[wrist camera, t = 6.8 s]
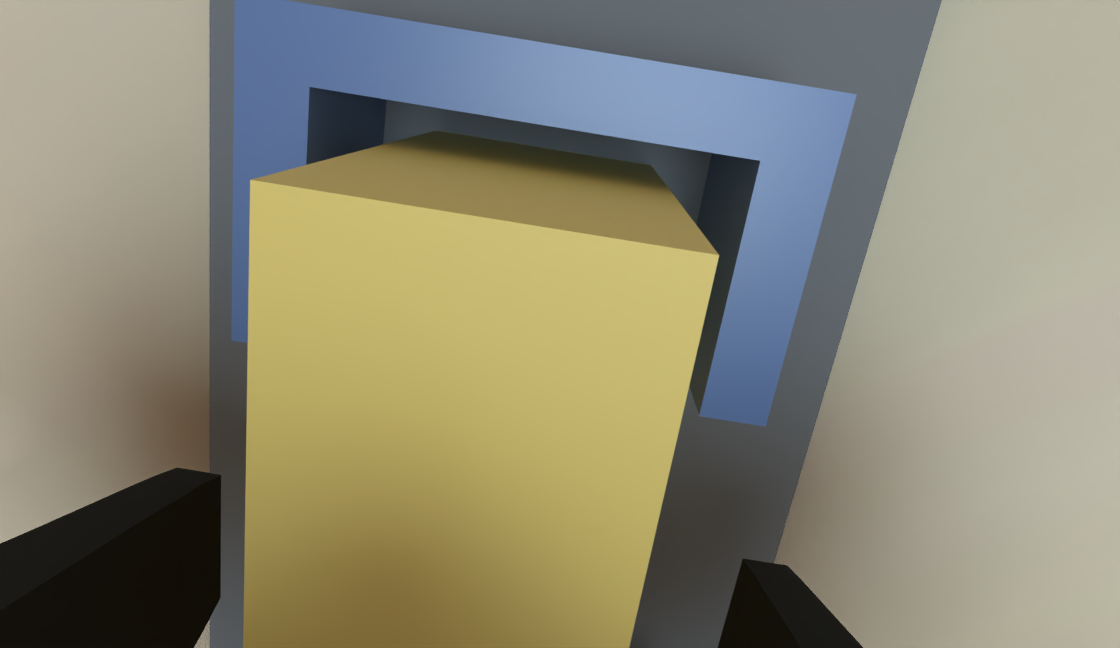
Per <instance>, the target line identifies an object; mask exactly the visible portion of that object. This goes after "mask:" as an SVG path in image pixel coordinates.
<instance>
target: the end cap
mask: <svg viewBox="0 0 1120 648" xmlns="http://www.w3.org/2000/svg"><path fill="white" fill-rule="evenodd" d="M856 96H857V94H852V93H846V92H840V91H834V90H827V89H821V88H815V87H809V86H803V85H797V84H791V83H785V82H779V81H773V80H767V79H761V78H755V77H749V76H743V75H736V74H730V73H724V72H718V71H712V70H706V69H700V68H694V67H688V66H682V65H676V64H670V63H664V62H658V61H652V60H645V59H639V58H633V57H627V56H621V55H615V54H609V53H603V52H597V51H591V50H585V49H579V48H573V47H567V46H561V45H554V44H548V43H542V42H536V41H530V40H524V39H518V38H512V37H506V36H500V35H494V34H488V33H482V32H476V31H470V30H463V29H457V28H451V27H445V26H439V25H433V24H427V23H421V22H415V21H409V20H403V19H397V18H391V17H385V16H379V15H372V14H366V13H360V12H354V11H348V10H342V9H336V8H330V7H324V6H318V5H312V4H306V3H300V2H294V1H288V0H235V23H234V125H233V228H232V331H231V340H232V341H238V342H244V343H248V294H249V228H250V180H252V179H255V178H259V177H263V176H267V175H270V174H274V173H278V172H282V171H285V170H289V169H293V168H297V167H300V166H304V165H308V164H312V163H316V162H319V161H323V160H327V159H331V158H334V157H338V156H342V155H346V154H349V153H353V152H357V151H361V150H364V149H368V148H372V147H376V146H380V145H383V142H384V129H385V116H386V102H387V100H393V101H399V102H405V103H411V104H417V105H423V106H429V107H435V108H441V109H447V110H454V111H460V112H466V113H472V114H478V115H484V116H490V117H496V118H502V119H508V120H515V121H521V122H527V123H533V124H539V125H545V126H551V127H557V128H563V129H569V130H575V131H582V132H588V133H594V134H600V135H606V136H612V137H618V138H624V139H630V140H636V141H643V142H649V143H655V144H661V145H667V146H673V147H679V148H685V149H691V150H697V151H703V152H710V153H712V155H711V160H710V164H709V169H708V174H707V178H706V183H705V187H704V192H703V196H702V201H701V206H700V210H699V215H698V219H697V224H696V225H697V226H698V228H699V229H700V230H701V232H702V233H703V234H704V236H705V237H706V238H707V240H708V241H709V242H710V244H711V245H712V246H713V248H714V249H715V250H716V252H717V253H718V254H719V259H718V263H717V267H716V272H715V276H714V280H713V285H712V289H711V294H710V298H709V302H708V307H707V311H706V315H705V320H704V324H703V328H702V333H701V337H700V341H699V346H698V350H697V354H696V359H695V363H694V368H693V372H692V376H691V381H690V385H689V386H690V389H691V392H692V396H693V399H694V402H695V405H696V408H697V411H698V414H699V416H702V417H708V418H714V419H721V420H727V421H733V422H739V423H745V424H752V425H758V426H764V427H766V424H767V420H768V416H769V413H770V409H771V405H772V402H773V398H774V394H775V391H776V387H777V383H778V380H779V376H780V373H781V369H782V365H783V362H784V358H785V354H786V351H787V347H788V343H789V340H790V336H791V332H792V329H793V325H794V322H795V318H796V314H797V311H798V307H799V303H800V300H801V296H802V292H803V289H804V285H805V282H806V278H807V274H808V271H809V267H810V263H811V260H812V256H813V252H814V249H815V245H816V241H817V238H818V234H819V231H820V227H821V223H822V220H823V216H824V212H825V209H826V205H827V201H828V198H829V194H830V190H831V187H832V183H833V180H834V176H835V172H836V169H837V165H838V161H839V158H840V154H841V150H842V147H843V143H844V139H845V136H846V132H847V129H848V125H849V121H850V118H851V114H852V110H853V107H854V103H855V99H856Z"/></svg>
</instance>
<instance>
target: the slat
mask: <svg viewBox="0 0 1120 648" xmlns="http://www.w3.org/2000/svg"><path fill="white" fill-rule="evenodd" d="M718 259H719V254H718V253H717V252H716V250H715V249H714V248H713V246H712V245H711V244H710V242H709V241H708V240H707V238H706V237H705V236H704V234H703V233H702V232H701V230H700V229H699V228H698V226H697V225H696V224H695V223H694V221H693V220H692V219H691V217H690V216H689V215H688V213H687V212H686V211H685V209H684V208H683V207H682V205H681V204H680V203H679V201H678V200H677V199H676V197H675V196H674V195H673V193H672V192H671V191H670V189H669V188H668V187H667V186H666V184H665V183H664V182H663V180H662V179H661V178H660V176H659V175H658V174H657V172H656V171H655V170H654V168H653V167H652V166H651V165H647V164H641V163H635V162H628V161H622V160H616V159H610V158H604V157H597V156H591V155H585V154H579V153H573V152H567V151H560V150H554V149H548V148H542V147H536V146H529V145H523V144H517V143H511V142H505V141H498V140H492V139H486V138H480V137H474V136H467V135H461V134H455V133H449V132H443V131H437V130H436V131H432V132H428V133H425V134H421V135H417V136H413V137H410V138H406V139H402V140H398V141H395V142H391V143H387V144H383V145H380V146H376V147H372V148H368V149H364V150H361V151H357V152H353V153H349V154H346V155H342V156H338V157H334V158H331V159H327V160H323V161H319V162H316V163H312V164H308V165H304V166H300V167H297V168H293V169H289V170H285V171H282V172H278V173H274V174H270V175H267V176H263V177H259V178H255V179H252V180H250V228H249V294H248V360H247V426H246V492H245V557H244V623H243V648H629V646H630V642H631V637H632V633H633V629H634V624H635V620H636V616H637V611H638V607H639V603H640V598H641V594H642V590H643V585H644V581H645V576H646V572H647V568H648V563H649V559H650V555H651V550H652V546H653V542H654V537H655V533H656V529H657V524H658V520H659V516H660V511H661V507H662V502H663V498H664V494H665V489H666V485H667V481H668V476H669V472H670V468H671V463H672V459H673V455H674V450H675V446H676V442H677V437H678V433H679V428H680V424H681V420H682V415H683V411H684V407H685V402H686V398H687V394H688V389H689V385H690V381H691V376H692V372H693V368H694V363H695V359H696V354H697V350H698V346H699V341H700V337H701V333H702V328H703V324H704V320H705V315H706V311H707V307H708V302H709V298H710V294H711V289H712V285H713V280H714V276H715V272H716V267H717V263H718Z"/></svg>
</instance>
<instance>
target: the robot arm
mask: <svg viewBox="0 0 1120 648" xmlns="http://www.w3.org/2000/svg"><path fill="white" fill-rule="evenodd" d="M220 598H221V475H219V474H212V473H206V472H200V471H194V470H187V469H181V468H175V469H172V470H170V471H167V472H164V473H161V474H159V475H156V476H154V477H151V478H149V479H147V480H144V481H142V482H140V483H137V484H135V485H133V486H130V487H128V488H126V489H123V490H121V491H119V492H117V493H114V494H112V495H110V496H108V497H105V498H103V499H101V500H99V501H96V502H94V503H92V504H90V505H88V506H85V507H83V508H81V509H79V510H76V511H74V512H72V513H69V514H67V515H65V516H63V517H60V518H58V519H56V520H54V521H51V522H49V523H47V524H44V525H42V526H40V527H38V528H35V529H33V530H31V531H29V532H26V533H24V534H22V535H20V536H17V537H15V538H13V539H10V540H8V541H6V542H3V543H1V544H0V648H194V646H195V644H196V643H197V641H198V639H199V637H200V636H201V634H202V632H203V630H204V628H205V626H206V624H207V623H208V621H209V619H210V617H211V615H212V613H213V611H214V609H215V608H216V606H217V604H218V602H219V600H220ZM718 648H863V647H862V646H861V645H860V644H859V643H858V642H857V640H856V639H855V638H854V637H853V636H852V635H851V634H850V633H849V632H848V631H847V630H846V628H845V627H844V626H843V625H842V624H841V623H840V622H839V621H838V620H837V619H836V617H835V616H834V615H833V614H832V613H831V612H830V611H829V610H828V609H827V608H826V606H825V605H824V604H823V603H822V602H821V601H820V600H819V599H818V598H817V597H816V595H815V594H814V593H813V592H812V591H811V590H810V589H809V588H808V587H807V586H806V585H805V584H804V582H803V581H802V580H801V579H800V578H799V577H798V576H797V575H796V574H795V573H794V572H793V571H792V570H791V569H790V568H789V567H788V566H787V565H780V564H774V563H768V562H762V561H756V560H749V559H742V563H741V566H740V570H739V573H738V577H737V580H736V584H735V588H734V591H733V595H732V598H731V602H730V605H729V609H728V612H727V616H726V620H725V623H724V627H723V630H722V634H721V637H720V641H719V644H718Z"/></svg>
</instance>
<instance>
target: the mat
mask: <svg viewBox="0 0 1120 648" xmlns="http://www.w3.org/2000/svg"><path fill="white" fill-rule="evenodd" d="M288 1H294V2H300V3H306V4H312V5H318V6H324V7H330V8H336V9H342V10H348V11H354V12H360V13H366V14H372V15H379V16H385V17H391V18H397V19H403V20H409V21H415V22H421V23H427V24H433V25H439V26H445V27H451V28H457V29H463V30H470V31H476V32H482V33H488V34H494V35H500V36H506V37H512V38H518V39H524V40H530V41H536V42H542V43H548V44H554V45H561V46H567V47H573V48H579V49H585V50H591V51H597V52H603V53H609V54H615V55H621V56H627V57H633V58H639V59H645V60H652V61H658V62H664V63H670V64H676V65H682V66H688V67H694V68H700V69H706V70H712V71H718V72H724V73H730V74H736V75H743V76H749V77H755V78H761V79H767V80H773V81H779V82H785V83H791V84H797V85H803V86H809V87H815V88H821V89H827V90H834V91H840V92H846V93H852V94H857V96H856V99H855V103H854V107H853V110H852V114H851V118H850V121H849V125H848V129H847V132H846V136H845V139H844V143H843V147H842V150H841V154H840V158H839V161H838V165H837V169H836V172H835V176H834V180H833V183H832V187H831V190H830V194H829V198H828V201H827V205H826V209H825V212H824V216H823V220H822V223H821V227H820V231H819V234H818V238H817V241H816V245H815V249H814V252H813V256H812V260H811V263H810V267H809V271H808V274H807V278H806V282H805V285H804V289H803V292H802V296H801V300H800V303H799V307H798V311H797V314H796V318H795V322H794V325H793V329H792V332H791V336H790V340H789V343H788V347H787V351H786V354H785V358H784V362H783V365H782V369H781V373H780V376H779V380H778V383H777V387H776V391H775V394H774V398H773V402H772V405H771V409H770V413H769V416H768V420H767V424H766V427H764V426H758V425H752V424H745V423H739V422H733V421H727V420H721V419H714V418H708V417H702V416H699V414H698V411H697V408H696V405H695V402H694V399H693V396H692V392H691V389H690V386H689V389H688V394H687V398H686V402H685V407H684V411H683V415H682V420H681V424H680V428H679V433H678V437H677V442H676V446H675V450H674V455H673V459H672V463H671V468H670V472H669V476H668V481H667V485H666V489H665V494H664V498H663V502H662V507H661V511H660V516H659V520H658V524H657V529H656V533H655V537H654V542H653V546H652V550H651V555H650V559H649V563H648V568H647V572H646V576H645V581H644V585H643V590H642V594H641V598H640V603H639V607H638V611H637V616H636V620H635V624H634V629H633V633H632V637H631V642H630V646H629V648H718V644H719V641H720V637H721V634H722V630H723V627H724V623H725V620H726V616H727V612H728V609H729V605H730V602H731V598H732V595H733V591H734V588H735V584H736V580H737V577H738V573H739V570H740V566H741V563H742V559H749V560H756V561H762V562H768V563H774V560H775V556H776V553H777V550H778V546H779V543H780V539H781V536H782V533H783V529H784V526H785V523H786V519H787V516H788V513H789V509H790V506H791V503H792V499H793V496H794V493H795V489H796V486H797V483H798V479H799V476H800V473H801V469H802V466H803V462H804V459H805V456H806V452H807V449H808V446H809V442H810V439H811V436H812V432H813V429H814V426H815V422H816V419H817V416H818V412H819V409H820V406H821V402H822V399H823V396H824V392H825V389H826V385H827V382H828V379H829V375H830V372H831V369H832V365H833V362H834V359H835V355H836V352H837V349H838V345H839V342H840V339H841V335H842V332H843V329H844V325H845V322H846V319H847V315H848V312H849V308H850V305H851V302H852V298H853V295H854V292H855V288H856V285H857V282H858V278H859V275H860V272H861V268H862V265H863V262H864V258H865V255H866V252H867V248H868V245H869V242H870V238H871V235H872V231H873V228H874V225H875V221H876V218H877V215H878V211H879V208H880V205H881V201H882V198H883V195H884V191H885V188H886V185H887V181H888V178H889V175H890V171H891V168H892V165H893V161H894V158H895V154H896V151H897V148H898V144H899V141H900V138H901V134H902V131H903V128H904V124H905V121H906V118H907V114H908V111H909V108H910V104H911V101H912V98H913V94H914V91H915V88H916V84H917V81H918V77H919V74H920V71H921V67H922V64H923V61H924V57H925V54H926V51H927V47H928V44H929V41H930V37H931V34H932V31H933V27H934V24H935V21H936V17H937V14H938V10H939V7H940V4H941V0H288ZM234 23H235V0H210V473H212V474H219V475H221V598H220V600H219V602H218V604H217V606H216V608H215V609H214V611H213V613H212V615H211V617H210V648H243V623H244V557H245V492H246V426H247V360H248V343H244V342H238V341H232V340H231V331H232V228H233V125H234ZM436 130H437V131H443V132H449V133H455V134H461V135H467V136H474V137H480V138H486V139H492V140H498V141H505V142H511V143H517V144H523V145H529V146H536V147H542V148H548V149H554V150H560V151H567V152H573V153H579V154H585V155H591V156H597V157H604V158H610V159H616V160H622V161H628V162H635V163H641V164H647V165H651V166H652V167H653V168H654V170H655V171H656V172H657V174H658V175H659V176H660V178H661V179H662V180H663V182H664V183H665V184H666V186H667V187H668V188H669V189H670V191H671V192H672V193H673V195H674V196H675V197H676V199H677V200H678V201H679V203H680V204H681V205H682V207H683V208H684V209H685V211H686V212H687V213H688V215H689V216H690V217H691V219H692V220H693V221H694V223H695V224H697V219H698V215H699V210H700V206H701V201H702V196H703V192H704V187H705V183H706V178H707V174H708V169H709V164H710V160H711V155H712V153H710V152H703V151H697V150H691V149H685V148H679V147H673V146H667V145H661V144H655V143H649V142H643V141H636V140H630V139H624V138H618V137H612V136H606V135H600V134H594V133H588V132H582V131H575V130H569V129H563V128H557V127H551V126H545V125H539V124H533V123H527V122H521V121H515V120H508V119H502V118H496V117H490V116H484V115H478V114H472V113H466V112H460V111H454V110H447V109H441V108H435V107H429V106H423V105H417V104H411V103H405V102H399V101H393V100H387V102H386V116H385V129H384V142H383V144H387V143H391V142H395V141H398V140H402V139H406V138H410V137H413V136H417V135H421V134H425V133H428V132H432V131H436Z"/></svg>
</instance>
